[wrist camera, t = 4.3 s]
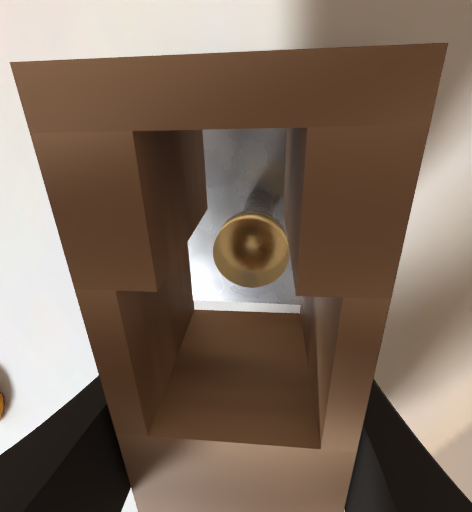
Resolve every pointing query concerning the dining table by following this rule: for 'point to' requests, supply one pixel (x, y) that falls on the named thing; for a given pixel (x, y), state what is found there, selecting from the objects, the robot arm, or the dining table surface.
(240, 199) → the hook plate
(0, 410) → the decorated donut
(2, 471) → the robot arm
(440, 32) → the dining table surface
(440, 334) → the dining table surface
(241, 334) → the block
